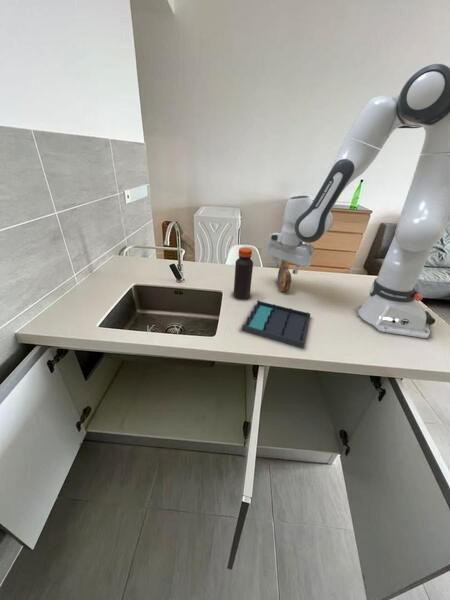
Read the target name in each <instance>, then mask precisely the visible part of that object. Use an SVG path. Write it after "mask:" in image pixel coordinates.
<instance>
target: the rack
mask: <svg viewBox="0 0 450 600" xmlns="http://www.w3.org/2000/svg"><path fill="white" fill-rule="evenodd" d="M310 319H311V313H309V312H306V311H301V310H297V309H293V308H290V307H285V306H281V305H277V304H276V303H274V304H273V303H269V302H265V301H260V299H259V300H258V299H257V300H256V304H255V305H254V306H253V310H251V311H250V315H249V316H247V318H246V321H245V323H244V324H242V327H241V331H243V332H245V333H249V334H254V335H255V336H256V335H257V336H260V337H263V338H267V339H270V340H273V341H277V342H280V343H283V344H287V345H290V346H294V347H297V348H301V349H303V348H304V345H305V341H306V335H307V331H308V326H309V322H310Z"/></svg>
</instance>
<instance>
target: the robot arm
mask: <svg viewBox="0 0 450 600" xmlns="http://www.w3.org/2000/svg"><path fill="white" fill-rule="evenodd" d="M419 128H423V129H424V141H423V144H422V146H421V147H422V148H421V150H420V154H419V157H418V161H417V162H416V163H417V164H416V167H415V170H414V172H413V176H412V180H411V183H410V186H409V188H408V191H407V195H406V197H405V200H404V203H403V207H402V209H401V211H400V216H399V218H398V222H397V225H396V228H395V231H394V236H393V238H392V240H391V243H390V246H389V248H388V249H387V250H388V251H387V252H386V255H385V257H384V258H383V261H382V264H381V267H380V269H379V272H378V275H377V277H376V278H375V279H374V280H373V282H372V284H371V287H370V289H369V295H368V296H367V298H366V299H365V301H364V303H363V304H362V306H360V308H359V309H358V311H357V313H358V315H359V317H360V318H361V319H362V320H363V321H364V322H366V323H367V324H370V325H371V326H373V327H374V328H376V329H377V330H378V331H379V332H383V333H386V334H387V333H388V334H395V335H402V336H407V337H416V338H422V339H428V338H429V337H430V334H431V330H430V327H429V326H432V325H434V324H435V323H436V319H435V318H434V317H433V316H432V314H430V312H429V311H427V310H425V309H424V308H423V307H422V305H421V304H419V302H420V301H422V300H423V295H422V294H421V293H419V291H418V290H417V289H416V288H415V286H416V284H417V282H418V280H419V278H420V276H421V274H422V272H423V270H424V268H425V266H426V263H427V261H428V258H429V256H430V253H432V252H431V251H432V249H433V247H434V246H435V245H436V244H437V243H439V241H440V240H441V239H442V237H443V235H444V232H445V229H446V227H447V225H448V222H449V220H450V66H447V65H446V64H442V63H434V64H429V65H426V66H424V67H422V68H421V69H418V71H416V72H415V73H414V74H413V75H412V76H411V77H410V78H408V80H407V81H406V82H405V84H404V85H403V86H402V88H401V90H400V93H399V95H397V96H390V95H383V94H382V95H381V94H380V95H377V96H374V97H372V98H371V99H370V100H368V101H367V102H366V104H365V105H364V106H363V108H362V109H361V111H360V112H359V114H358V115H357V116H356V118H355V120H354V122H353V123H352V124H351V126H350V128H349V130H348V132H347V134H346V136H345V137H344V139H343V141H342V143H341V145H340V147H339V150H338V152H337V154H336V156H335V159H334V161H333V163H332V166H331V168H330V170H329V172H328V174H327V177H326V178H325V180H324V182H323V184H322V185H321V187H320V188H319V191H318V192H317V194H316V195H315V197H314V199H313V200H312V198H311V197H310V196H309V195H296V196H292V197H290V198H289V199H288V200H287V202H286V205H285V207H284V208H285V209H284V213H283V218H282V222H283V225H282V226H281V227H282V228H281V231H278V232H273V233H271V234H269V235H268V236H269V237H268V239H269V240H268V241H267V245H266V249H265V252H266V255H267V256H270V257H272V260H273V267H274V268H278V267H279V266H280V262H279V261H278V259H279V260H281V261H285V262H288V263H290V264H293V265H295V267H296V268H294V269H292V274H293V275H298V273H299V270H300V269H301V268H308V267H310V266H311V265H312V262H313V255H314V253H315V247H314V246H313V245H312V243H315V242H318V240H320V239H321V238H322V237H323V236H324V234H326V233H327V232H328V231H329V230H331V228H332V227H333V224H334V220H335V219H334V214H333V212H332V210H333V208H334V206H335V205H336V202H337V201H338V199H339V198H340V196H341V195H342V193H343V192H344V191H345V190H346V188H347V187H348V186H349V185H350V184H351V183H352V182H354V181H355V180H356V179H357V178H359V177H360V176H361V175H363V174H364V173H365V172H366V171H367V170H368V168H369V167H370V166H371V165H372V164H373V162H374V161H375V159H376V158H377V157H378V155H379V153H380V152H381V150H382V149H383V147H384V146H385V144H386V142H387V140H388V139H389V138H390V136H391V135H392V134H393V133H394V131H395V130H397V129H419Z"/></svg>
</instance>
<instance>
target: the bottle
mask: <svg viewBox="0 0 450 600" xmlns="http://www.w3.org/2000/svg"><path fill="white" fill-rule="evenodd" d="M252 254H253V249H252V248H250V247H239V248H238V258H237V259H236V261H235V266H234V267H235V268H234V281H233V297H234V298H236V299H237V300H247V299H248V298H249V299H250V296H251V288H252V278H253V270H254V268H253V267H254V262H253V260H252V259H251V258H252Z"/></svg>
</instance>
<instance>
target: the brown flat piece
mask: <svg viewBox="0 0 450 600" xmlns="http://www.w3.org/2000/svg"><path fill="white" fill-rule="evenodd" d="M291 283H292V274H291V272H290V270H289V267H288V266H284V265H280V267H279V269H278V273H277V285H278V288H279V290H280V292H289V290H290V287H291Z"/></svg>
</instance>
